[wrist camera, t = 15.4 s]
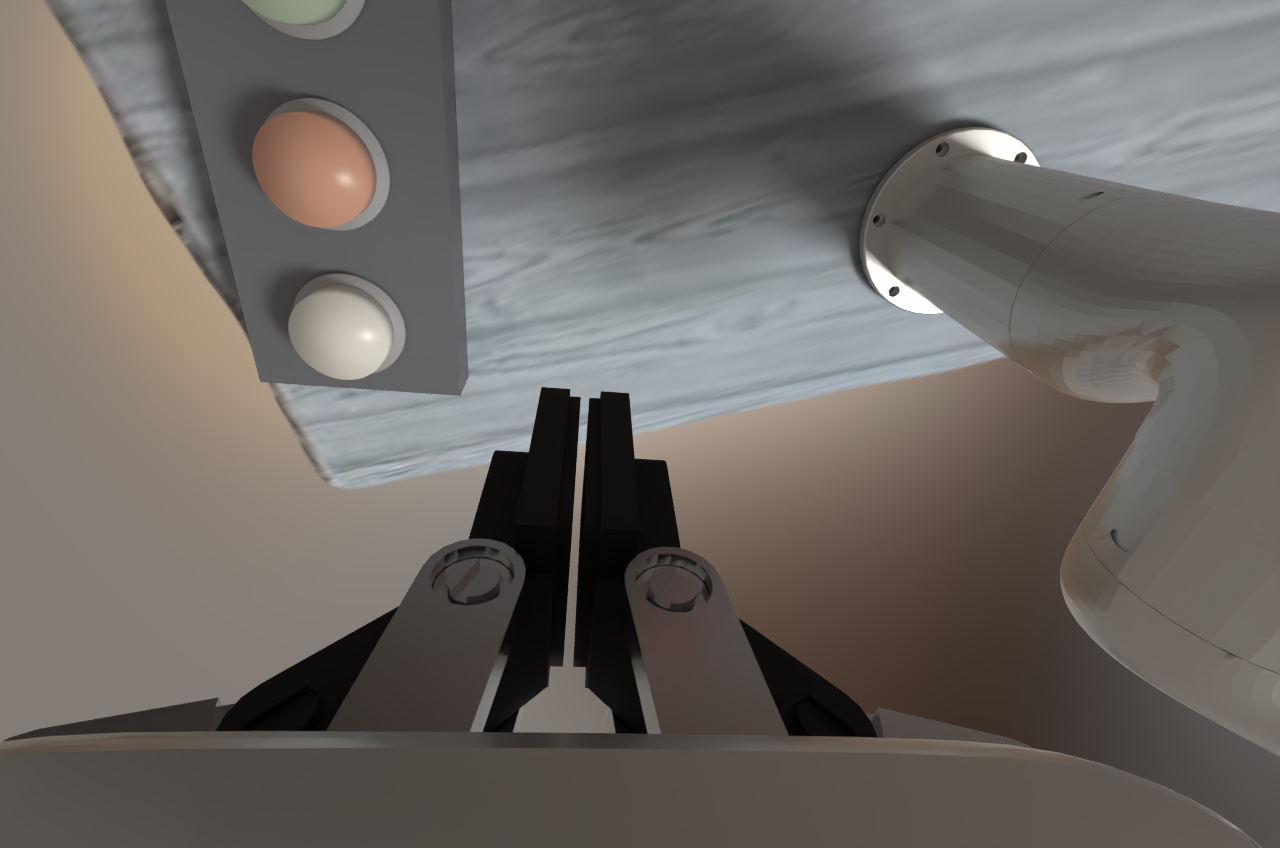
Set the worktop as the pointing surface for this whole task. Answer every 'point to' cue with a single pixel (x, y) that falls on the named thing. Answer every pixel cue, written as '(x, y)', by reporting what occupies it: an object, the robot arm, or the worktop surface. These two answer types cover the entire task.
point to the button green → (297, 10)
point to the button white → (341, 332)
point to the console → (404, 160)
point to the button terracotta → (314, 168)
